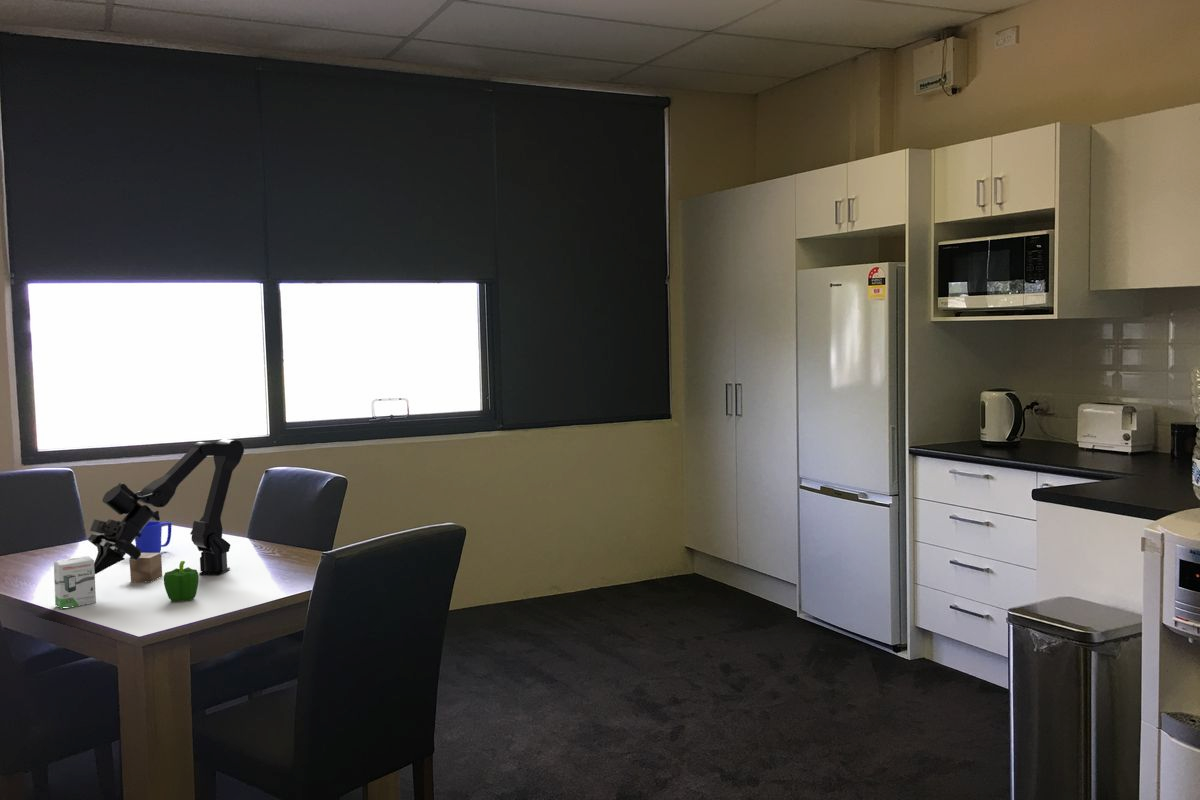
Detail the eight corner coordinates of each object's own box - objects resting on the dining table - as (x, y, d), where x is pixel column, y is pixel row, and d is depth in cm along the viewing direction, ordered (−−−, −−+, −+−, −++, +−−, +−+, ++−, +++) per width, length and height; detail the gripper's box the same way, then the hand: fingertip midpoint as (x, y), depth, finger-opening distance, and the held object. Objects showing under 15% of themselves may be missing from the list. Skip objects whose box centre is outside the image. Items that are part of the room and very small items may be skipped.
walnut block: (162, 576, 279) (161, 552, 278) (151, 582, 273) (149, 557, 272) (142, 576, 279) (141, 552, 279) (130, 582, 273) (129, 557, 273)
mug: (179, 551, 310) (178, 520, 309) (144, 559, 300) (142, 527, 299) (164, 548, 315) (162, 518, 314) (129, 556, 305) (127, 525, 304)
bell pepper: (187, 605, 249) (185, 567, 248) (159, 604, 251) (156, 566, 250) (206, 595, 257) (204, 559, 257) (178, 595, 259) (176, 558, 258)
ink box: (60, 610, 247) (57, 565, 246) (55, 605, 250) (52, 561, 249) (96, 602, 253) (94, 558, 251) (91, 598, 256) (88, 555, 255)
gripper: (93, 503, 263) (52, 551, 255) (127, 511, 252) (86, 561, 244) (123, 527, 270) (85, 574, 262) (158, 535, 259) (118, 584, 251)
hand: (92, 573), depth 255 cm, fingers closed
